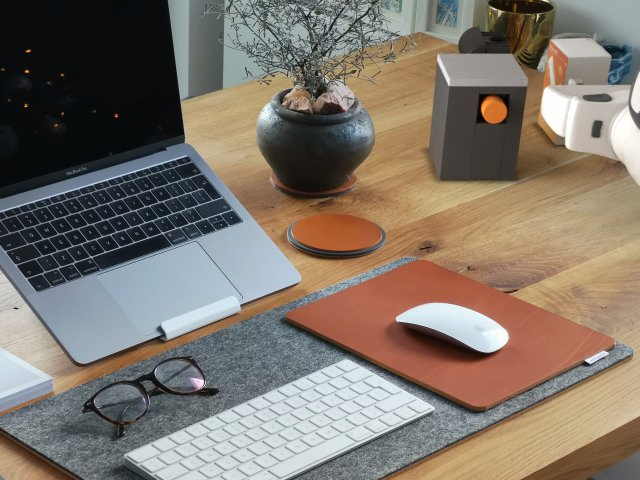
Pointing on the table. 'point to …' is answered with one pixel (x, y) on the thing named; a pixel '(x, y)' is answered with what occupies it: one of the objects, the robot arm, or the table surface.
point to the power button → (493, 109)
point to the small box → (573, 69)
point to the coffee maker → (476, 117)
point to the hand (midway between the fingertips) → (610, 84)
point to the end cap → (482, 42)
